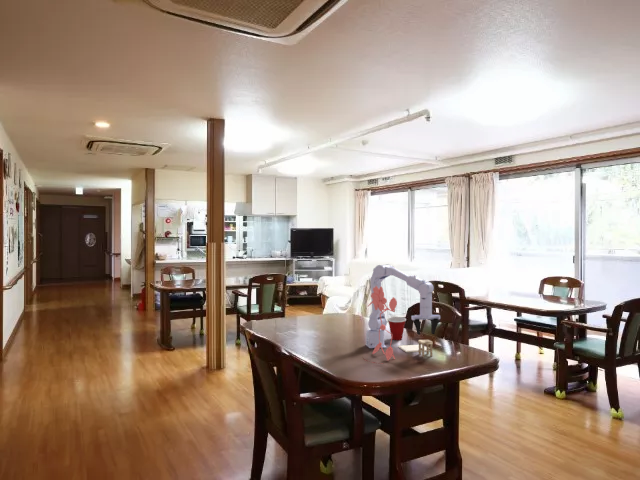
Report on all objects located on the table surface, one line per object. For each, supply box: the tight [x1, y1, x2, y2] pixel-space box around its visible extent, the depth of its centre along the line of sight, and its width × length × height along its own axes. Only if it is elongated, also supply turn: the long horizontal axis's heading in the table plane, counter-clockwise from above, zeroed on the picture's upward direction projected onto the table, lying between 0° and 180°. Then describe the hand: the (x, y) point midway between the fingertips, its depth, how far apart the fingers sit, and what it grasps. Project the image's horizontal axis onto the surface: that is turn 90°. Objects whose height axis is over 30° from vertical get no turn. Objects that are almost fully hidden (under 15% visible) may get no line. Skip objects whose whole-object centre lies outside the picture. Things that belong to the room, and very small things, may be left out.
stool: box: [417, 339, 434, 358], centre depth 217 cm, size 5×5×7 cm
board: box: [398, 344, 430, 353], centre depth 229 cm, size 13×11×1 cm
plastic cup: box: [386, 316, 407, 341], centre depth 251 cm, size 11×11×12 cm
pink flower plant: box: [362, 286, 398, 365], centre depth 211 cm, size 15×26×35 cm, turn 24°
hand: (425, 334), depth 217 cm, fingers open, 7 cm apart
